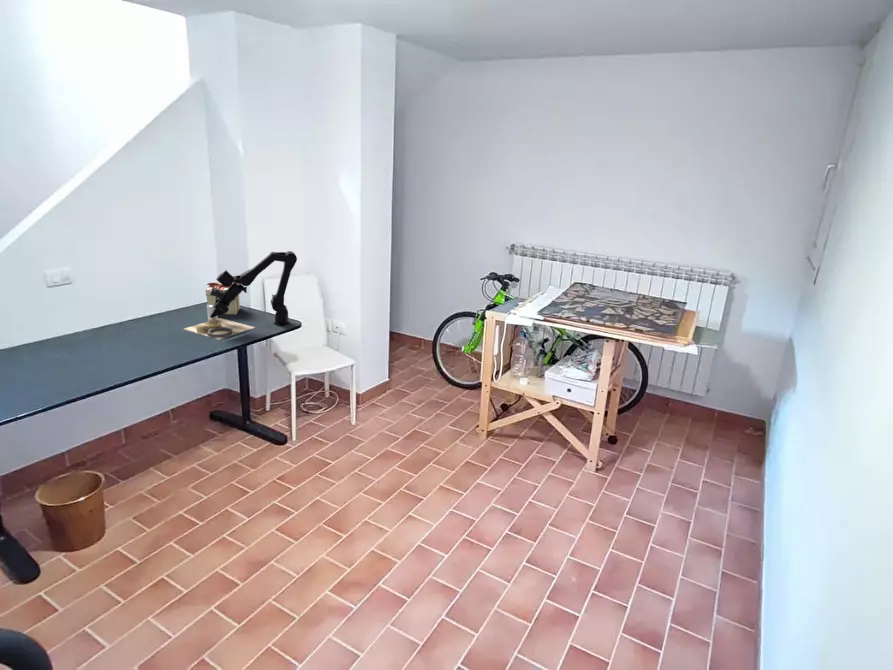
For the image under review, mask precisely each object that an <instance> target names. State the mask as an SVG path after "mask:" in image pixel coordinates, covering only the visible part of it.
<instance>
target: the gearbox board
mask: <svg viewBox="0 0 893 670" xmlns="http://www.w3.org/2000/svg"><path fill="white" fill-rule="evenodd" d="M218 320H219V321H221V324H222V326H221V327H217V328H209V325H207V324H205V323H206V322H207V321H205V322H202V323H198V324H195V325H192V326H188V327H185V328H184V330H185V331H188V332H192V333H195V334H197V335H198V334H199V335H202V336H206V337H209V338H213V339H214V340H219V341H220V342H221V341H223V340H226V339H228V337H229V339H230V338H233V337H237V336H238V335H239V336H240V335H242V334H244V333H248V332H249V331H250V332H251V331H253V330H255V328H256V326H251V325H248V324H244V323H240V322H236V321H233V320H229V319H225V318H221V317H218ZM252 329H253V330H252ZM246 331H247V332H246ZM243 332H244V333H243ZM237 334H238V335H237ZM233 335H236V336H233ZM231 336H233V337H231Z"/></svg>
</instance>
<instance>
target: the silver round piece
mask: <svg viewBox="0 0 893 670" xmlns="http://www.w3.org/2000/svg"><path fill="white" fill-rule="evenodd" d="M215 308H216V307H215V304H210V305H207V304H206V311H207V321H205V322H206V323H205V322H204V323H205V324H207V325H209V328H217V327H221V326H222V324H221V321H219V320H218V319H219V315H218V316H216V317H213V318H211V317H210V316H211V314H212V313H213V311H214V310H215Z"/></svg>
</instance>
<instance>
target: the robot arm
mask: <svg viewBox="0 0 893 670" xmlns="http://www.w3.org/2000/svg"><path fill="white" fill-rule="evenodd" d="M297 261H298V258H297V255H296V253H295V252H293V251H291V250H290V251H289V250H288V251H286V252H285V251H284V252H283V251H277V252H276V251H271V252H270V253H269V254H268V255H267V256H266V257H264V258H263V259H262V260H261V261H260V262H258V263H257V264H256V265H255V266H253V267H252V268H250V269H248V270H246V271H244V272H243V273H241V274H240V275H239V274H238V275H232V274H231V273H230V272H229V271H228V270H227V269H225V270H224V271H223V272H221V273H220V274H219V275H218V276H217V277H216V278H215V280H216V281H217V283H221V284H222V285H223V286H224V287H226V286H227V287H229V286H230V285H231V284H232V283H233V284H232V285H231V286H230V287H229V288H228V289H227V290H225V291H222V290H219V289H217V288H214V287H213V288H212V290H211V292H210V295H212V296H216V302H215V307H216V308H215V310H214V311H213V313H212V314H211V316H210V317H211V318H213V317H216V316H218V317H219V316H220V315H225V314H224V313H227V312H228V311H229V308H228V306H229V305H230V303H231V302H232V301H233V300H235V298H236V297H237V296H238V295H239V296H240V294H241V293H242V292H244V293H245V294H247V293H248V292H247V288H248V287H249V286H251V284H252V283H253V282H254V281H255V280H256V278H257V276H258V275H259V274H261V273H262V272H263V271H265V270H266V269H267V268H268V267H270V266H271V264H273V263H274V262H280V263H283V268H282V272H281V277H280V281H279V283H278V287H277V291H276V293H275V294H272V296H271V298H270V299H271V300H270V304H271V308H272V310H273V311H275V313H274V315H275V316H274V322H273V324H274V325H278V326H281V327H282V326H287V325H289V324H291V321H289V311H288V307H287V305H285V294H286V289H287V287H288V283H289V280H290V276H291V272H292V270H293V269H294V267H295V265H296V263H297ZM227 305H228V306H227Z"/></svg>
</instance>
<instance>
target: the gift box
mask: <svg viewBox="0 0 893 670" xmlns="http://www.w3.org/2000/svg"><path fill="white" fill-rule="evenodd" d="M232 284H233V283H232ZM232 284H231V285H232ZM231 285H230V286H231ZM207 286H208V287H207V288H206V289H205V296H206V301H207V304H206V306H207V305H210V304H215V302H216V296H212V295H210V292H211V290H212V288H213V287H214V288H217V289H219V290H222V291H225V290H227V289H228V288H229V287H230V286H229V287H227V286H226V287H224V286H223V285H222V284H221V283H220V282H209V283H207ZM227 306H228V305H227ZM228 308H229V311H228V312H227V313H224V314H223V315H235V316H236V315H237V314H238V313H239V311H240V309H241V303H240V294H239V295H238V296H237V297H236V298H235V300H233V301H232V302H231V303H230V305H229V306H228Z"/></svg>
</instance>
